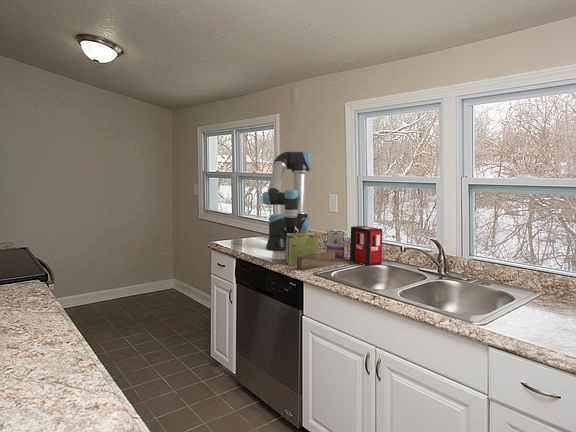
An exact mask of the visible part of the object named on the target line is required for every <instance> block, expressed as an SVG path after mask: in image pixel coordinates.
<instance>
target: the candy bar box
mask: <svg viewBox="0 0 576 432" xmlns="http://www.w3.org/2000/svg"><path fill="white" fill-rule="evenodd" d="M326 233H327V234H326V242H327V243H326V252H329V251H330V252H335V258H339V259H340V258H341V259H344V258H347V248H348V247H347V242H348V240H347V237H348V235H347V234H348V230H345V229H327V231H326Z"/></svg>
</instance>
